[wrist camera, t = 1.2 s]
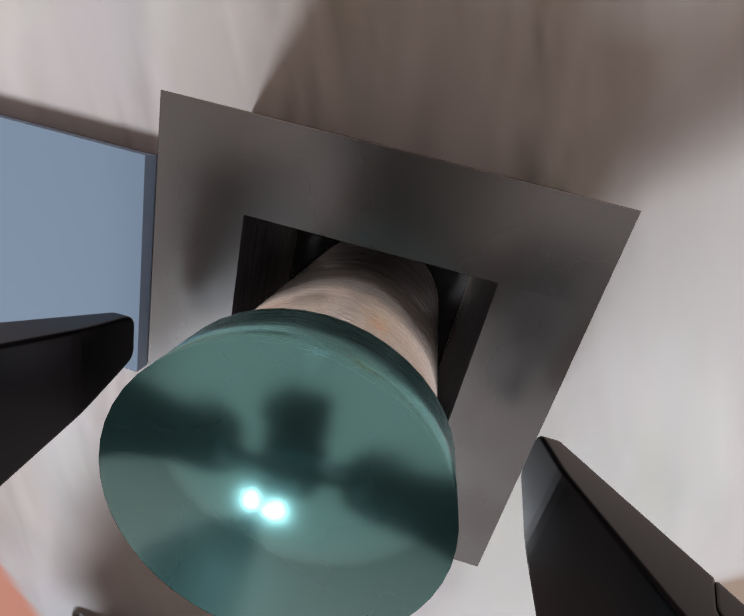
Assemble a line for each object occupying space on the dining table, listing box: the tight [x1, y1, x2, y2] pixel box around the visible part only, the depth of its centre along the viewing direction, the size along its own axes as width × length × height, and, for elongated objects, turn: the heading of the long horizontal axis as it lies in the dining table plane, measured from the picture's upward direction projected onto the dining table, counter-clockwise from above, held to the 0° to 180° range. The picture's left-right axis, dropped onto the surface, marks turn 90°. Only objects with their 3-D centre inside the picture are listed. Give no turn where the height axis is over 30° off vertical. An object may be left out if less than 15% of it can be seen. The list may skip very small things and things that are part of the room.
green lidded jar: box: [99, 241, 459, 616], centre depth 10 cm, size 5×5×9 cm
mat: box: [0, 114, 157, 372], centre depth 15 cm, size 8×8×1 cm
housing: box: [148, 90, 641, 566], centre depth 12 cm, size 10×10×4 cm
